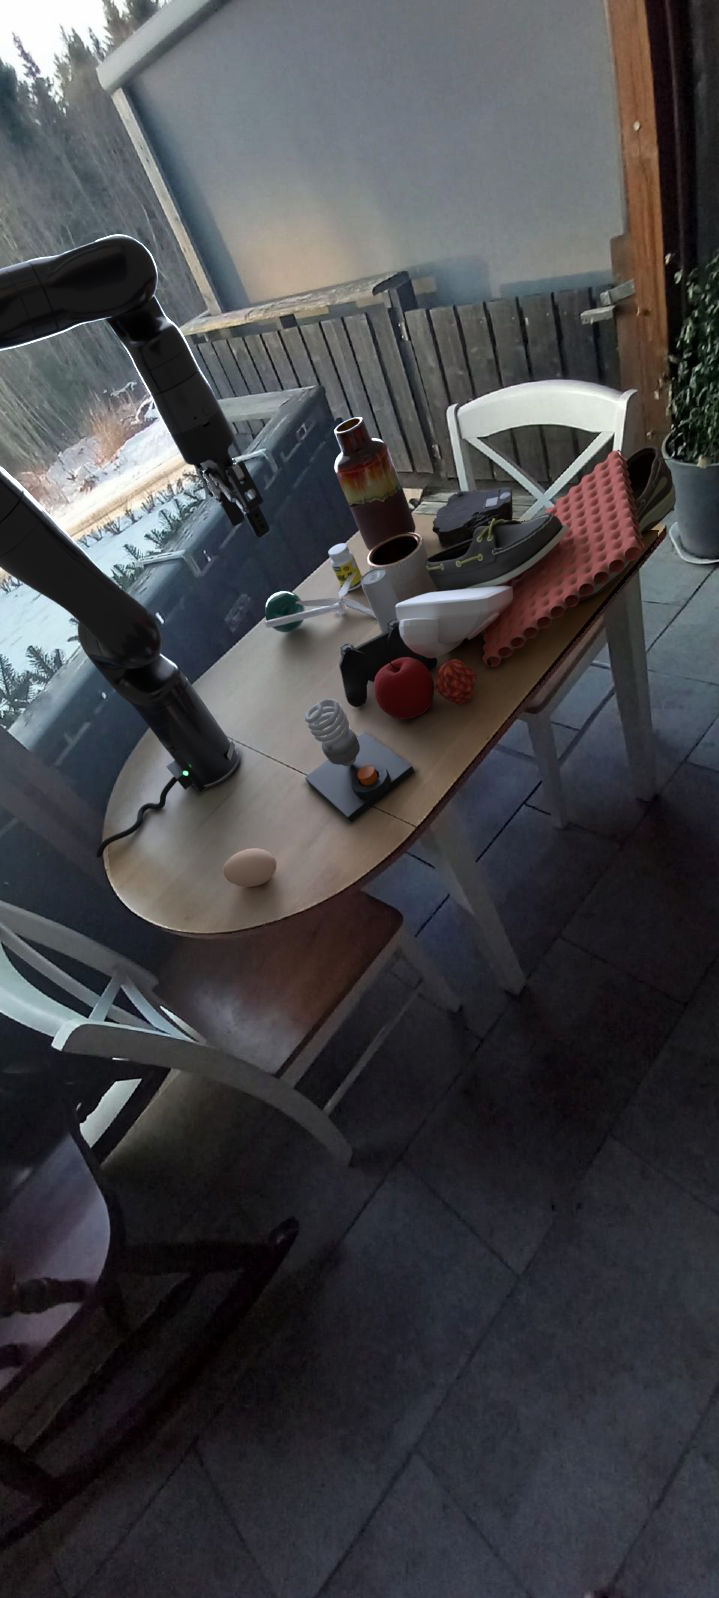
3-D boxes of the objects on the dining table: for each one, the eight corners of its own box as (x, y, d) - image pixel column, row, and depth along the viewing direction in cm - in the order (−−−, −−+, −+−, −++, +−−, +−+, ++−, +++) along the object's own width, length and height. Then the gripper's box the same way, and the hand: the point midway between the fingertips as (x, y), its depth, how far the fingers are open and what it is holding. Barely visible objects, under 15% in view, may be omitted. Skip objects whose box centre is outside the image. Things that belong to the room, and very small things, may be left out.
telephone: (435, 588, 129) (441, 642, 132) (377, 609, 114) (386, 670, 117) (523, 579, 120) (527, 637, 124) (473, 601, 105) (480, 666, 108)
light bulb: (348, 747, 115) (317, 689, 107) (375, 755, 112) (345, 695, 104) (326, 773, 113) (293, 715, 105) (353, 781, 110) (320, 723, 102)
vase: (424, 548, 151) (380, 420, 134) (374, 570, 153) (323, 447, 135) (415, 526, 159) (371, 403, 142) (367, 547, 161) (318, 428, 144)
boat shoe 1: (559, 554, 108) (527, 503, 106) (429, 623, 131) (400, 583, 128) (588, 517, 114) (558, 468, 112) (459, 590, 137) (431, 551, 134)
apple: (394, 737, 115) (371, 688, 108) (378, 706, 122) (356, 658, 115) (448, 710, 114) (429, 660, 108) (430, 681, 121) (410, 631, 114)
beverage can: (409, 621, 135) (387, 564, 127) (408, 637, 132) (385, 579, 124) (384, 628, 137) (361, 572, 129) (383, 644, 134) (358, 587, 126)
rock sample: (462, 558, 143) (455, 535, 140) (419, 540, 155) (412, 518, 151) (533, 510, 145) (528, 486, 142) (486, 496, 157) (480, 473, 154)
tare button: (381, 777, 106) (377, 770, 105) (367, 788, 106) (363, 781, 105) (371, 770, 108) (367, 762, 107) (357, 780, 107) (353, 773, 106)
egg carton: (645, 552, 99) (635, 542, 98) (491, 669, 117) (482, 662, 116) (625, 455, 117) (617, 446, 116) (494, 570, 135) (486, 563, 134)
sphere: (319, 615, 149) (302, 581, 143) (297, 641, 145) (279, 607, 140) (289, 615, 154) (272, 582, 148) (268, 640, 150) (249, 607, 145)
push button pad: (418, 774, 108) (411, 760, 106) (353, 825, 105) (345, 812, 103) (367, 737, 118) (360, 723, 116) (308, 783, 115) (300, 770, 113)
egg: (265, 880, 99) (214, 889, 103) (286, 883, 104) (237, 892, 107) (262, 842, 101) (212, 852, 104) (283, 846, 105) (234, 856, 108)
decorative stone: (485, 709, 111) (470, 668, 106) (442, 720, 114) (425, 680, 108) (484, 683, 116) (469, 642, 111) (442, 694, 118) (426, 654, 113)
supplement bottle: (339, 593, 152) (323, 557, 147) (346, 579, 155) (330, 544, 149) (360, 589, 150) (344, 553, 144) (366, 575, 153) (351, 539, 147)
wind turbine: (256, 610, 147) (355, 586, 151) (279, 656, 138) (383, 629, 143) (254, 594, 144) (355, 570, 148) (277, 640, 135) (383, 613, 140)
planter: (431, 606, 136) (414, 561, 129) (377, 614, 141) (359, 571, 134) (444, 572, 142) (429, 526, 136) (392, 581, 147) (375, 538, 141)
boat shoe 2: (580, 615, 118) (568, 548, 110) (519, 595, 127) (504, 532, 119) (711, 505, 125) (709, 434, 117) (644, 494, 134) (638, 427, 126)
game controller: (434, 663, 128) (409, 609, 126) (441, 665, 122) (415, 608, 119) (350, 706, 129) (323, 653, 127) (352, 711, 122) (324, 655, 120)
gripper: (151, 426, 101) (211, 533, 112) (189, 436, 91) (250, 553, 101) (196, 398, 102) (251, 506, 113) (238, 404, 92) (294, 522, 103)
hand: (250, 528), depth 107 cm, fingers open, 8 cm apart
